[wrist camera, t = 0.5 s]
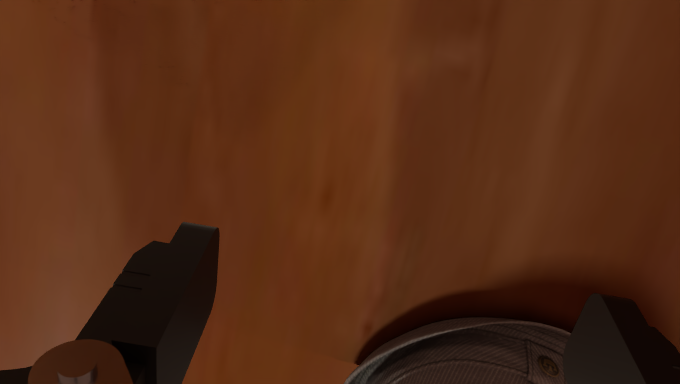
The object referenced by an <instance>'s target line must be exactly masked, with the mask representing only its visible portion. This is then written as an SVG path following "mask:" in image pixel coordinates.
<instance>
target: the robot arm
mask: <svg viewBox="0 0 680 384" xmlns="http://www.w3.org/2000/svg"><path fill="white" fill-rule="evenodd" d="M218 253H219V228H217V227H211V226H205V225H199V224H193V223H187V222H183V223H182V224H181V225H180V227H179V229H178V230H177V232H176V234H175V235H174V237H173V239H172V240H171V242H170V243H163V242H158V241H153V242H151V243H149V244H148V245H146V246H145V247H143V248H142V249H140V250H139V251H137V252H135V253H134V254H133V256H132V257H131V259H130V260H129V261H128V263H127V264H126V266H125V267H124V269H123V271H122V274H121V273H120V275H119V276H118V278H117V279H116V281H115V282H114V284H113V287H112V288H110V289H109V291H108V292H107V294H106V295H105V297H104V298H103V300H102V301H101V303H100V304H99V306H98V307H97V309H96V310H95V311H94V313H93V314H92V316H91V317H90V319H89V320H88V322H87V323H86V325H85V326H84V328H83V329H82V331H81V332H80V333H79V335H78V336H77V338H76V339H75V340H74V341H70V342H66V343H63V344H60V345H58V346H56V347H54V348H52V349H50V350H49V351H47V352H46V353H44V354H43V355H42V356H41V357H40V358H39V359H38V360H37V361H36V362H35V363H34V365H33V366H31V367H26V368H20V369H12V370H1V371H0V384H182V381H183V379H184V376H185V374H186V371H187V369H188V367H189V364H190V362H191V359H192V357H193V354H194V352H195V349H196V347H197V345H198V342H199V340H200V337H201V335H202V332H203V330H204V328H205V325H206V323H207V320H208V318H209V315H210V313H211V310H212V306H213V303H214V298H215V293H216V285H217V269H218ZM563 372H564V376H565V379H566V381H567V384H680V354H679V352H678V350H677V349H676V347H675V346H674V345H673V344H672V343H671V342H670V341H669V340H668V339H666V338H665V337H664V336H663V335H662V334H661V333H660V332H659V331H658V330H657V329H656V328H655V327H650V326H648V324H647V322H646V320H645V319H644V317H643V315H642V314H641V312H640V310H639V308H638V307H637V305H636V303H635V302H634V301H633V300H631V299H627V298H621V297H615V296H609V295H603V294H597V293H594V294H592V295H591V296H590V297H589V298H588V299H587V301H586V303H585V305H584V307H583V309H582V312H581V314H580V316H579V318H578V320H577V322H576V324H575V326H574V328H573V331H572V333H571V335H570V337H569V339H568V341H567V343H566V346H565V349H564V353H563Z"/></svg>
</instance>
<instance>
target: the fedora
mask: <svg viewBox="0 0 680 384" xmlns="http://www.w3.org/2000/svg"><path fill="white" fill-rule="evenodd" d="M570 335H571V333H569V332H567V331H565V330H562V329H559V328H556V327H553V326H550V325H546V324H542V323H537V322H531V321H523V320H515V319H506V318H490V317H471V318H458V319H450V320H444V321H439V322H435V323H431V324H428V325H425V326H422V327H419V328H417V329H414V330H412V331H409V332H407V333H405V334H403V335H401V336H399V337H396V338H394V339H392V340H390V341H389V342H387V343H385V344H383V345H382V346H380V347H379V348H377V349H376V350H375V351H373V352H372V353H371V354H370V355H369V356H368V357H367V358H366V359H365V360H364V361H363V362H362V363H361V364H360V365H359V366H358V367H357V368H356V369H355V370H354V371H353V372H352V373H351V374H350V376H349V377H348V378H347V379H346V381H345V383H344V384H567V381H566V379H565V376H564V372H563V353H564V349H565V346H566V343H567V341H568V339H569V337H570Z"/></svg>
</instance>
